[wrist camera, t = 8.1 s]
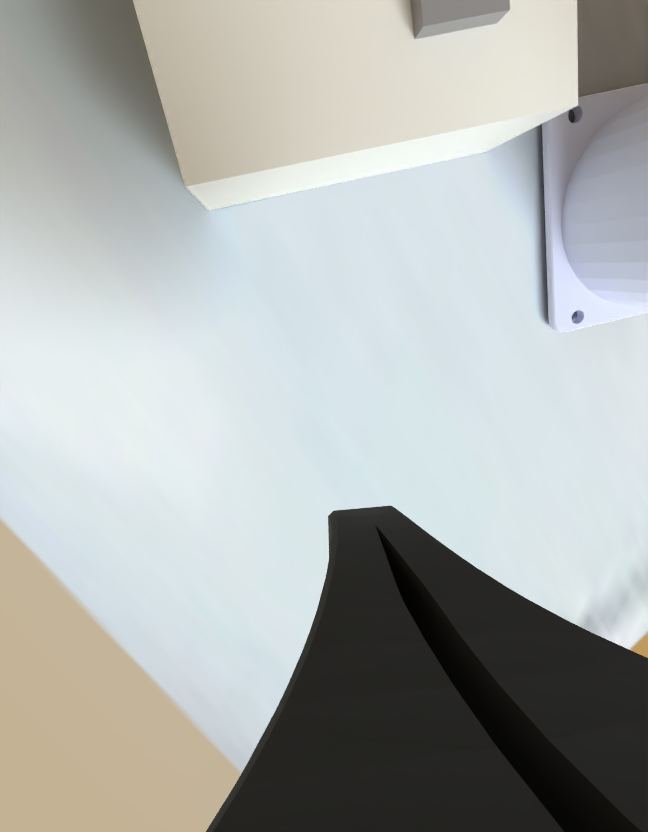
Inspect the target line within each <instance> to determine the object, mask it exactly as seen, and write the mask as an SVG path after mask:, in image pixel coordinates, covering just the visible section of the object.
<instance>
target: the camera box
mask: <svg viewBox="0 0 648 832" xmlns="http://www.w3.org/2000/svg"><path fill="white" fill-rule="evenodd" d="M133 3H134V7H135V10H136V14H137V17H138V21H139V25H140V28H141V32H142V35H143V39H144V42H145V46H146V50H147V53H148V57H149V60H150V64H151V67H152V71H153V74H154V78H155V82H156V85H157V89H158V92H159V96H160V99H161V103H162V107H163V110H164V114H165V117H166V121H167V124H168V128H169V132H170V135H171V139H172V142H173V146H174V149H175V153H176V157H177V160H178V164H179V167H180V171H181V174H182V178H183V182H184V185H185V187H186V188H187V189H188V190H189V191H190V192H191V193H192V194H193V195H194V197H195V198H196V199H197V200H198V201H199V202H200V203H201V204H202V205H203V206H204V207H205V208H206V209H207V210H208V211H210V210H214V209H219V208H224V207H229V206H233V205H238V204H243V203H248V202H252V201H257V200H262V199H267V198H271V197H276V196H281V195H285V194H290V193H295V192H300V191H304V190H309V189H314V188H319V187H323V186H328V185H333V184H338V183H342V182H347V181H352V180H357V179H361V178H366V177H371V176H375V175H380V174H385V173H390V172H394V171H399V170H404V169H409V168H413V167H418V166H423V165H428V164H432V163H437V162H442V161H447V160H451V159H456V158H461V157H465V156H470V155H475V154H480V153H484V152H487V151H489V150H491V149H493V148H495V147H497V146H499V145H501V144H503V143H505V142H507V141H509V140H511V139H513V138H515V137H517V136H519V135H520V134H522V133H524V132H526V131H528V130H530V129H532V128H534V127H536V126H538V125H540V124H542V123H544V122H546V121H548V120H550V119H552V118H554V117H556V116H558V115H560V114H562V113H564V112H566V111H568V110H570V109H572V108H574V107H576V106H578V36H577V0H133Z"/></svg>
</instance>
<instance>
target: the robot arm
mask: <svg viewBox="0 0 648 832" xmlns="http://www.w3.org/2000/svg"><path fill="white" fill-rule="evenodd" d="M571 110H572V111H573V112H574V114H575V120H574V122H573V123H571V122H570V121H569V118H568V113H569V110H568V111H566V112H564V113H562V114H560V115H558V116H556V117H554V118H552V119H550V120H548V121H546V122H544V123H542V139H543V169H544V198H545V228H546V258H547V287H548V317H549V325H550V327H551V328H552V330H555V331H558V332H568V331H572V330H576V329H581V328H585V327H589V326H593V325H597V324H602V323H606V322H610V321H614V320H619V319H623V318H627V317H631V316H635V315H640V314H644V313H648V83H644V84H640V85H635V86H630V87H625V88H620V89H615V90H611V91H606V92H601V93H596V94H591V95H586V96H582V97H578V106H576V107H574V108H572V109H571ZM575 311H577V314H578V315H577V318H576V320H575V321H573V322H572V319H571V318H572V315H573V313H574V312H575ZM328 525H329V563H328V569H327V574H326V579H325V582H324V586H323V590H322V594H321V598H320V601H319V605H318V609H317V612H316V615H315V618H314V621H313V624H312V627H311V630H310V633H309V635H308V638H307V641H306V643H305V646H304V649H303V651H302V654H301V656H300V658H299V661H298V663H297V665H296V668H295V670H294V672H293V675H292V677H291V679H290V682H289V684H288V686H287V688H286V690H285V692H284V695H283V697H282V699H281V701H280V703H279V705H278V707H277V709H276V711H275V713H274V715H273V717H272V718H271V720H270V722H269V724H268V726H267V728H266V730H265V732H264V733H263V735H262V737H261V739H260V741H259V743H258V745H257V747H256V748H255V750H254V752H253V754H252V756H251V758H250V760H249V762H248V763H247V765H246V767H245V769H244V770H243V772H242V774H241V776H240V777H239V779H238V781H237V783H236V784H235V786H234V788H233V789H232V791H231V792H230V794H229V796H228V797H227V799H226V801H225V802H224V804H223V805H222V807H221V808H220V810H219V812H218V813H217V815H216V816H215V818H214V820H213V821H212V823H211V824H210V826H209V828H208V829H207V831H206V832H648V658H646V657H644V656H642V655H639V654H637V653H635V652H633V651H631V650H628V649H626V648H624V647H622V646H620V645H617V644H615V643H613V642H611V641H609V640H606V639H604V638H602V637H600V636H598V635H595V634H593V633H591V632H589V631H587V630H585V629H583V628H581V627H579V626H577V625H575V624H573V623H571V622H569V621H567V620H565V619H563V618H561V617H559V616H557V615H556V614H554V613H552V612H550V611H548V610H546V609H544V608H543V607H541V606H539V605H537V604H535V603H533V602H532V601H530V600H528V599H526V598H524V597H523V596H521V595H519V594H517V593H516V592H514V591H512V590H511V589H509V588H507V587H506V586H504V585H503V584H501V583H499V582H498V581H496V580H495V579H493V578H492V577H490V576H488V575H487V574H485V573H484V572H482V571H481V570H479V569H477V568H476V567H474V566H473V565H471V564H470V563H469V562H467V561H466V560H464V559H463V558H461V557H460V556H458V555H457V554H456V553H454V552H453V551H451V550H450V549H449V548H447V547H446V546H444V545H443V544H442V543H440V542H439V541H438V540H436V539H435V538H434V537H432V536H431V535H430V534H428V533H427V532H426V531H424V530H423V529H422V528H420V527H419V526H418V525H416V524H415V523H414V522H413V521H411V520H410V519H409V518H407V517H406V516H405V515H403V514H402V513H401V512H399V511H398V510H397V509H395V508H394V507H392V506H383V507H371V508H360V509H349V510H338V511H333V512H332V513H331V514H330V515H329V516H328Z"/></svg>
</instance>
